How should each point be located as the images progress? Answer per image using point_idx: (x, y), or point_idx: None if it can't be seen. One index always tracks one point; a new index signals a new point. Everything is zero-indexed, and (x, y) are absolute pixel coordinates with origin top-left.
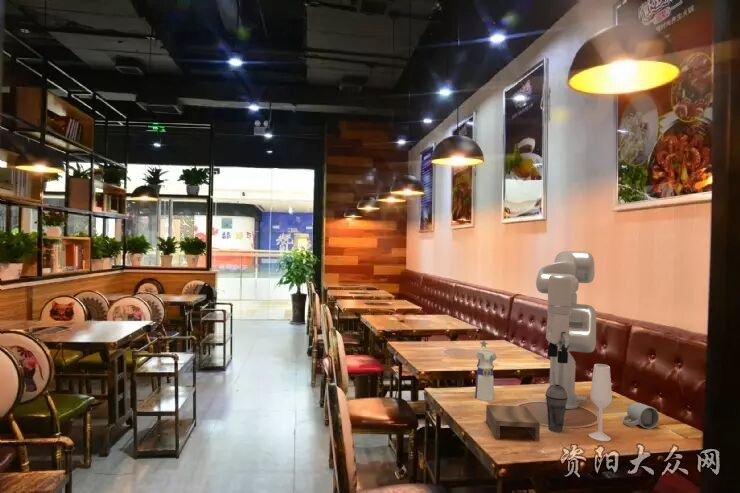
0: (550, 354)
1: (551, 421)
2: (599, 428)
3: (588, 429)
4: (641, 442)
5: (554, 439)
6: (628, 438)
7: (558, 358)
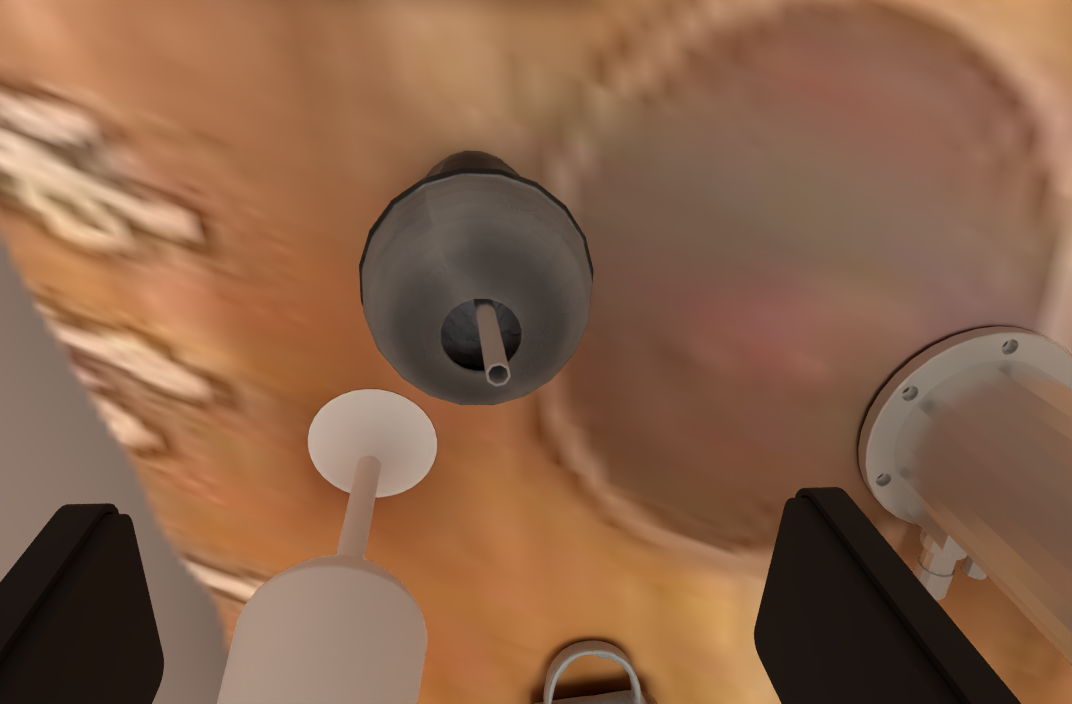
0: (800, 553)
1: (434, 169)
2: (357, 471)
3: (497, 426)
4: None
5: (263, 115)
6: None
7: (9, 583)
